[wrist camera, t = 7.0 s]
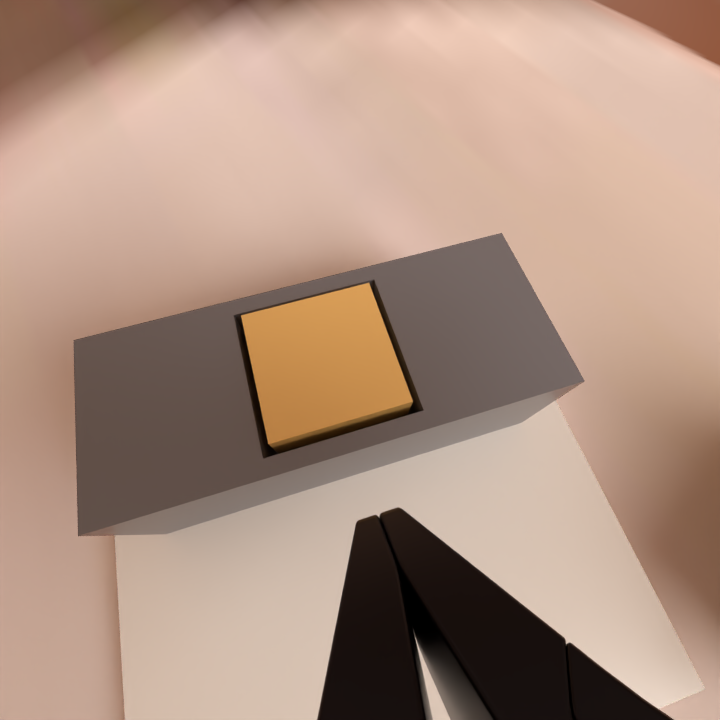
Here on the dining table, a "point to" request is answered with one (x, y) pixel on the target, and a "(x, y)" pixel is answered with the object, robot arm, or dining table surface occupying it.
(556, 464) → the grey block on base
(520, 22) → the dining table surface
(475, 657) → the robot arm
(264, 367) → the amber key
